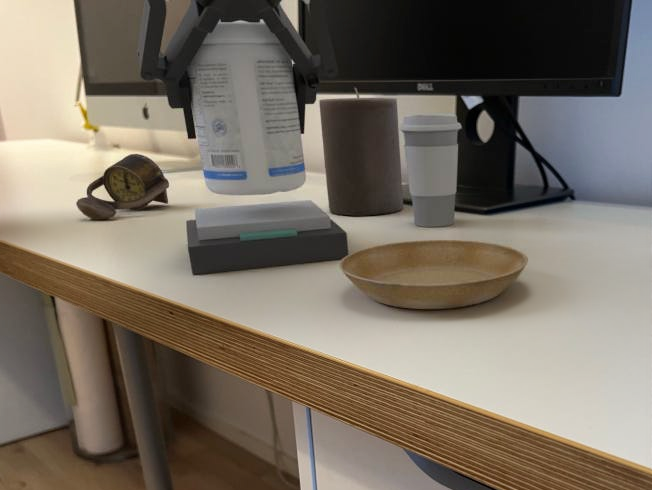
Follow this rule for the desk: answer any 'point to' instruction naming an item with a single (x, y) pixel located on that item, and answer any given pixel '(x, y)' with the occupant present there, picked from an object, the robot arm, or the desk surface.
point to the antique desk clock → (126, 187)
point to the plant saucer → (433, 272)
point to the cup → (432, 166)
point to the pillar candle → (362, 155)
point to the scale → (262, 236)
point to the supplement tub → (246, 111)
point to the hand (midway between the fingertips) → (245, 125)
